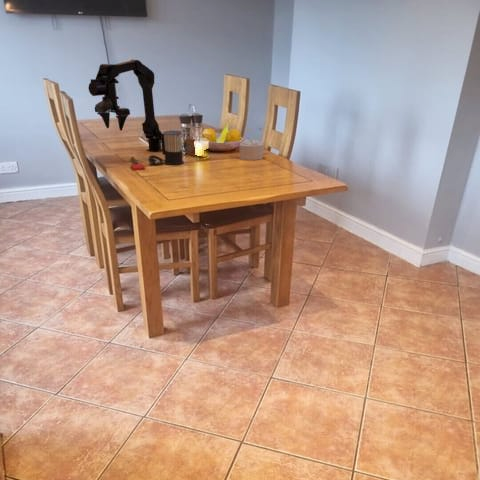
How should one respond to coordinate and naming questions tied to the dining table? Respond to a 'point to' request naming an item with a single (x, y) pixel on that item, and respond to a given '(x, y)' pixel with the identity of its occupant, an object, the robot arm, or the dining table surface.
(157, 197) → the dining table surface
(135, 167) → the spatula
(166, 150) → the milk frother
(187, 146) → the tin
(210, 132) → the fruit bowl
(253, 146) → the lumpy-topped squat cylinder
